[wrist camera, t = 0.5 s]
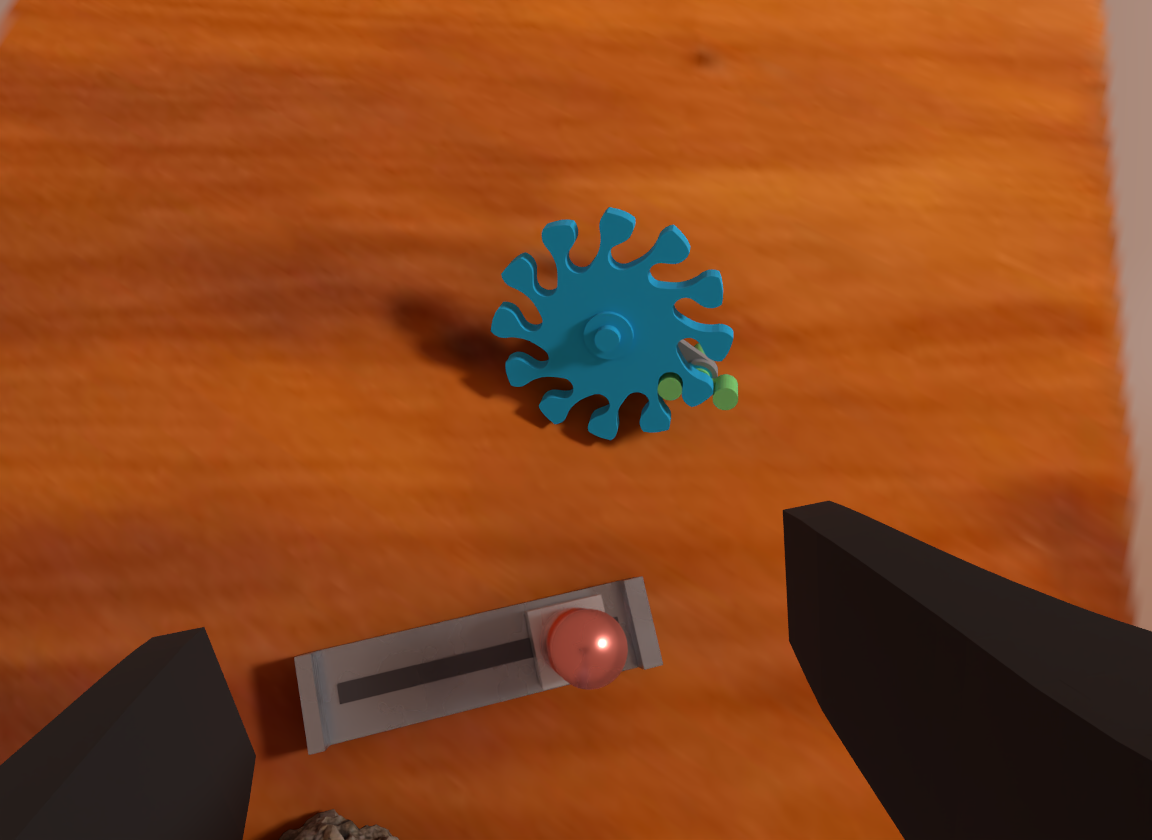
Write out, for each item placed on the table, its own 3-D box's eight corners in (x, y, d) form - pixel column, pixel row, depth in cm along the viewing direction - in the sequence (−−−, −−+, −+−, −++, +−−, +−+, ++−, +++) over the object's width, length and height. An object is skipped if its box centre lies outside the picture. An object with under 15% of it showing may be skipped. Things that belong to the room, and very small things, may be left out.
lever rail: (652, 661, 34) (663, 664, 32) (317, 746, 31) (308, 754, 29) (633, 577, 34) (642, 576, 33) (303, 654, 32) (294, 657, 30)
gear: (445, 362, 34) (568, 163, 29) (483, 311, 39) (593, 135, 34) (657, 498, 35) (809, 332, 30) (666, 432, 40) (798, 280, 35)
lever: (610, 667, 32) (642, 683, 26) (539, 685, 32) (555, 705, 26) (594, 594, 33) (622, 594, 27) (524, 610, 32) (537, 614, 26)
